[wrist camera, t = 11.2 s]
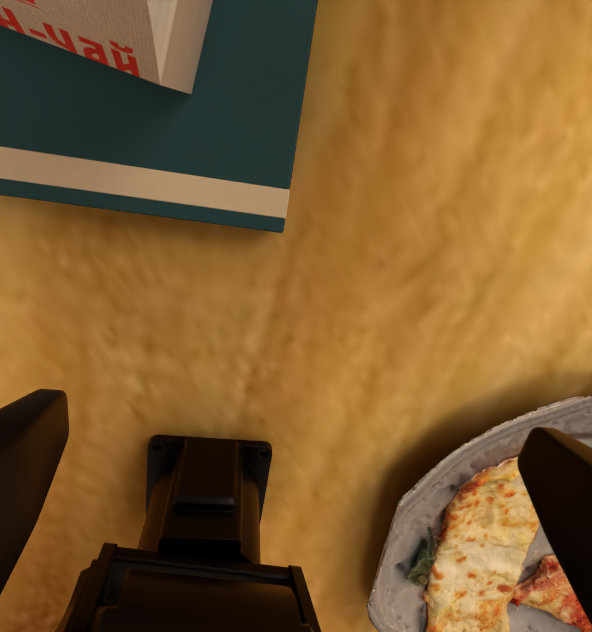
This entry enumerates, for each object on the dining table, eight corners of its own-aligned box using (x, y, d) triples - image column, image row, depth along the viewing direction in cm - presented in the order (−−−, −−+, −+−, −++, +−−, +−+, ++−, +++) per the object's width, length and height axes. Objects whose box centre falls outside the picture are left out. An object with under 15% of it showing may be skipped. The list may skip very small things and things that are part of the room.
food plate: (618, 639, 36) (653, 690, 33) (339, 650, 33) (349, 707, 30) (791, 380, 26) (867, 418, 23) (412, 361, 23) (438, 402, 20)
